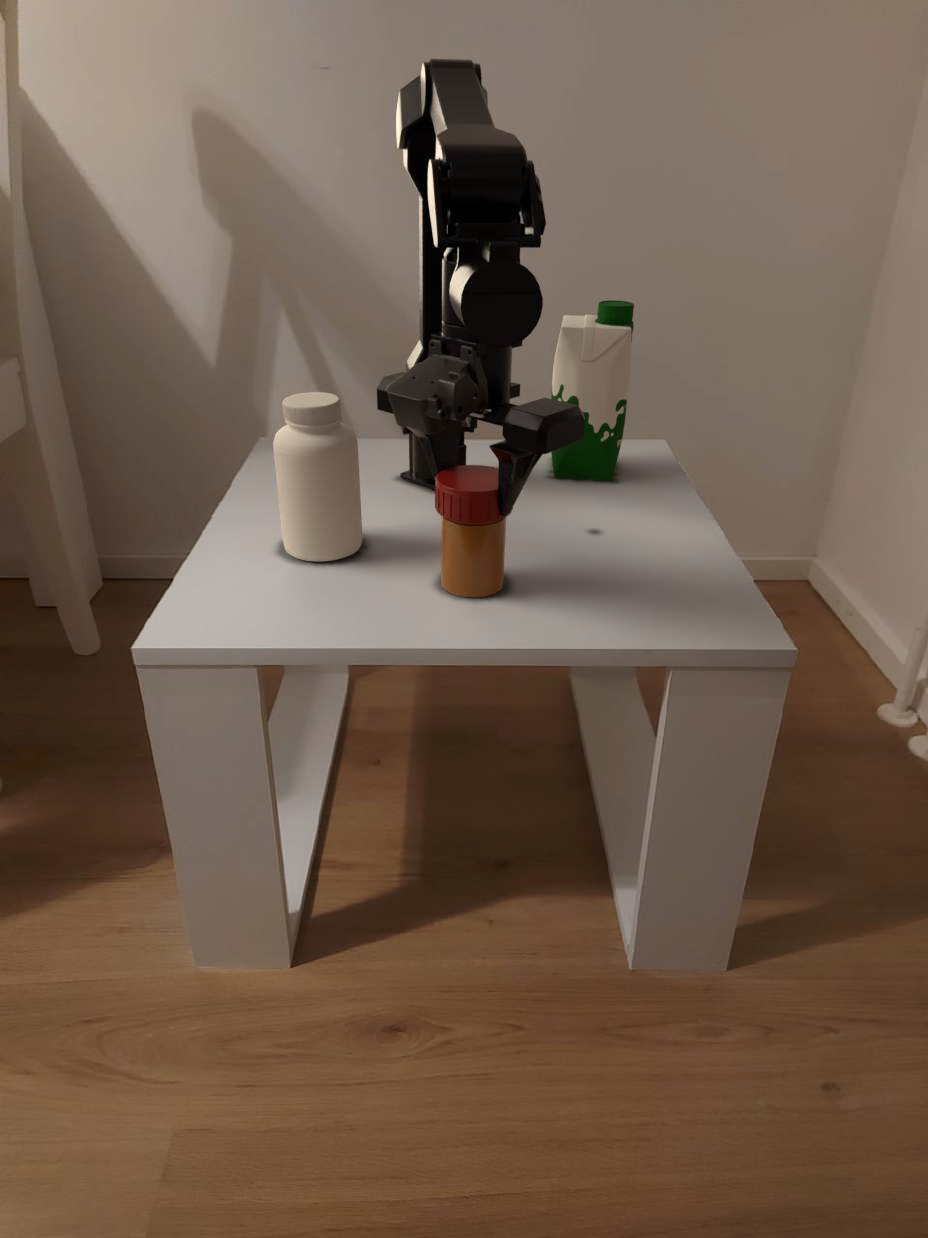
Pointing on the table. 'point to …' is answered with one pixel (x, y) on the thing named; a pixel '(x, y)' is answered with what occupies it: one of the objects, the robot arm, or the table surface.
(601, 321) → the soya milk
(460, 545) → the jar
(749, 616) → the table surface
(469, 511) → the lid
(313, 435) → the pill bottle
